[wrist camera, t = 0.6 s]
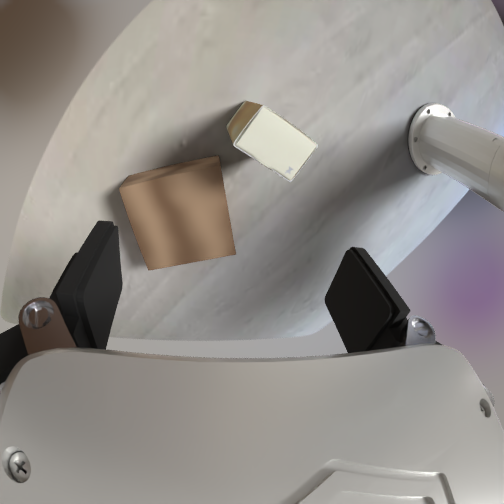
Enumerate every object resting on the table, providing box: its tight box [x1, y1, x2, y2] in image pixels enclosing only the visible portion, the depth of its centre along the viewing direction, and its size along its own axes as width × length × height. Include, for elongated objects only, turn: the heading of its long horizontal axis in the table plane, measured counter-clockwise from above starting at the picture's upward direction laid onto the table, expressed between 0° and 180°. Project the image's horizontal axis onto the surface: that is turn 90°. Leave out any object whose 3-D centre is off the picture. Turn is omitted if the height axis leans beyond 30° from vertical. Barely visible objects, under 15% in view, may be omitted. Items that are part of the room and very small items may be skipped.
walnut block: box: [119, 156, 236, 270], centre depth 34 cm, size 12×12×5 cm
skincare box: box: [226, 101, 318, 182], centre depth 26 cm, size 6×4×12 cm
